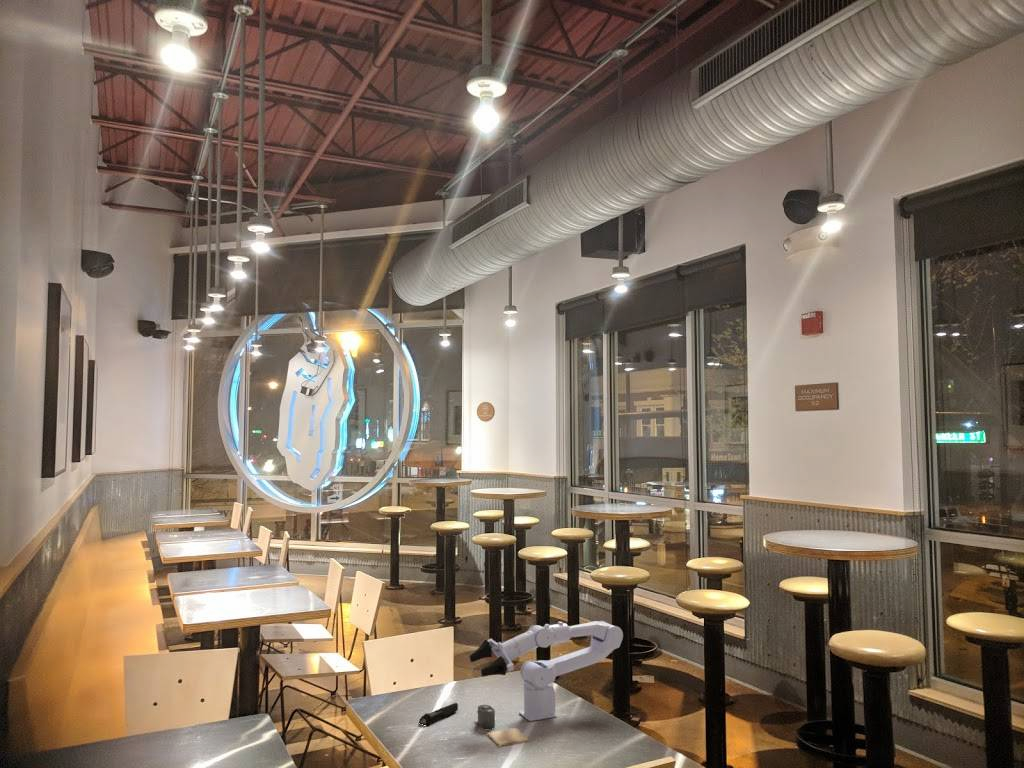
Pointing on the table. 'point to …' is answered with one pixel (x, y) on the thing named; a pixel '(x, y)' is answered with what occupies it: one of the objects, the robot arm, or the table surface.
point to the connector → (486, 716)
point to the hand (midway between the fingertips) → (475, 665)
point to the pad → (507, 736)
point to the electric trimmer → (438, 714)
